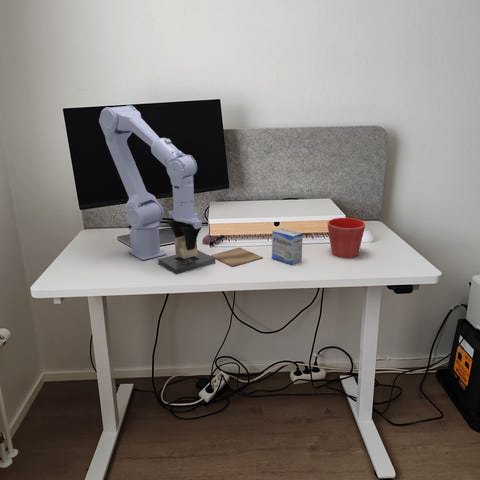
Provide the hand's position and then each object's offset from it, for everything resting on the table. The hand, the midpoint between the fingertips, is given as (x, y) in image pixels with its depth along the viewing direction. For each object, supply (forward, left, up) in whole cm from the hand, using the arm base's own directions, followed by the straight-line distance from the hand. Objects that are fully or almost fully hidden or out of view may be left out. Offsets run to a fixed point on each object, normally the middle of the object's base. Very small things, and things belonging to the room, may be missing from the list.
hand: (186, 247), depth 144 cm
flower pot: (+23, +41, -5) cm, 47 cm away
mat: (+5, +14, -5) cm, 16 cm away
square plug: (0, 0, -2) cm, 2 cm away
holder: (0, 0, -5) cm, 5 cm away
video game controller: (-13, +18, -5) cm, 23 cm away
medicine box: (+16, +24, -5) cm, 29 cm away
